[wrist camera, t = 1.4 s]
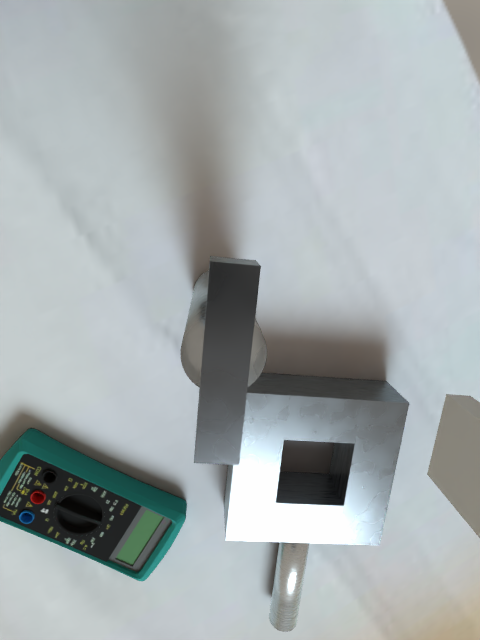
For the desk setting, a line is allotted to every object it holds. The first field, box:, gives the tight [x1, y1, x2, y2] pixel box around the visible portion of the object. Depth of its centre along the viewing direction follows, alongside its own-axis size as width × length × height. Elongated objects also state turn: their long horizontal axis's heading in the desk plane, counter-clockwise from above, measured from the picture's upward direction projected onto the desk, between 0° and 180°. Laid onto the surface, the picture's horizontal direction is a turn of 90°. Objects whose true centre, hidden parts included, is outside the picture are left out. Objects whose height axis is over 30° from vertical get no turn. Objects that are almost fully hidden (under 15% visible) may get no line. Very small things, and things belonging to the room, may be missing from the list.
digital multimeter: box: [0, 428, 187, 581], centre depth 34 cm, size 7×15×3 cm, turn 59°
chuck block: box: [224, 373, 409, 632], centre depth 34 cm, size 22×12×4 cm, turn 174°
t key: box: [181, 256, 267, 465], centre depth 24 cm, size 8×4×16 cm, turn 174°
